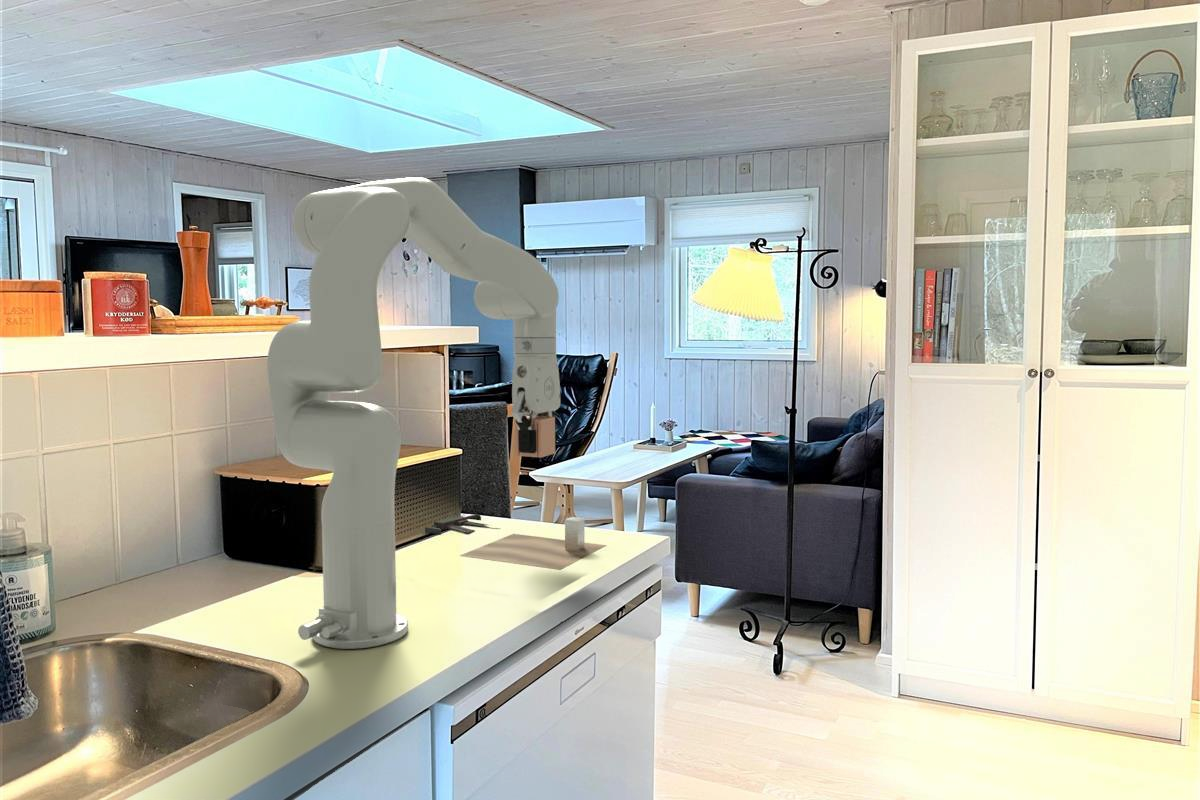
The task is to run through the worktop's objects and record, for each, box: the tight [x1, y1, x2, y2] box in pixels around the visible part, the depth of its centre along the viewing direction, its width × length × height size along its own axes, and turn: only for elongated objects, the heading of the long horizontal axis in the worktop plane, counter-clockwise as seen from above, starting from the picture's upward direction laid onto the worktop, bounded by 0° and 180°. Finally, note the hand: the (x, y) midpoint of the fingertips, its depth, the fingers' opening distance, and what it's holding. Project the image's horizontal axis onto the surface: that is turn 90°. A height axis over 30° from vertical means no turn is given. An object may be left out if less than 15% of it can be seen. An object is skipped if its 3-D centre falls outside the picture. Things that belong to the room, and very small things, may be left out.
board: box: [459, 533, 608, 571], centre depth 159 cm, size 18×20×2 cm
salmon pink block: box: [514, 416, 556, 459], centre depth 157 cm, size 5×5×7 cm
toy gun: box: [424, 513, 501, 535], centre depth 180 cm, size 3×19×15 cm
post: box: [564, 516, 585, 551], centre depth 160 cm, size 3×3×7 cm
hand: (535, 449), depth 158 cm, fingers closed on salmon pink block, 5 cm apart
